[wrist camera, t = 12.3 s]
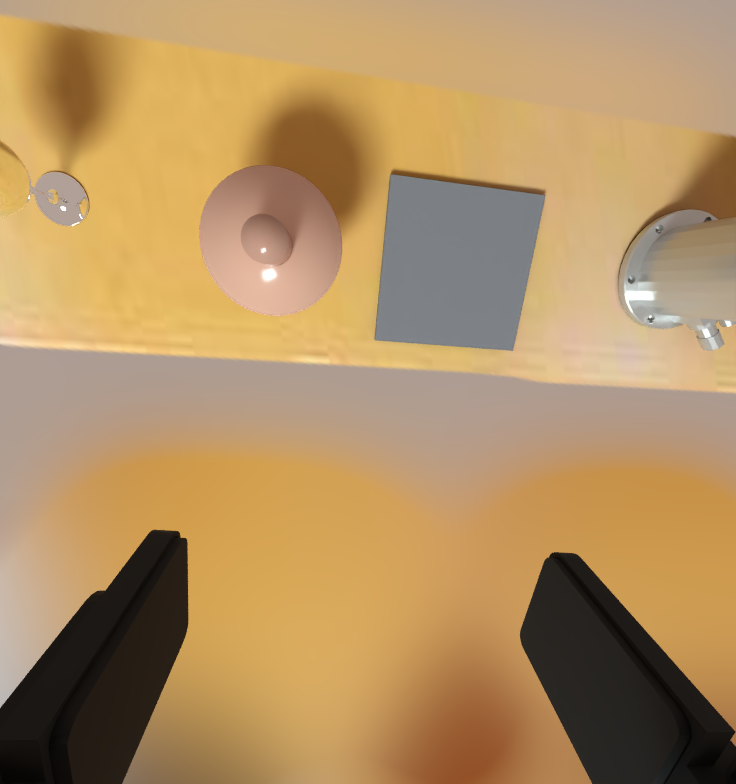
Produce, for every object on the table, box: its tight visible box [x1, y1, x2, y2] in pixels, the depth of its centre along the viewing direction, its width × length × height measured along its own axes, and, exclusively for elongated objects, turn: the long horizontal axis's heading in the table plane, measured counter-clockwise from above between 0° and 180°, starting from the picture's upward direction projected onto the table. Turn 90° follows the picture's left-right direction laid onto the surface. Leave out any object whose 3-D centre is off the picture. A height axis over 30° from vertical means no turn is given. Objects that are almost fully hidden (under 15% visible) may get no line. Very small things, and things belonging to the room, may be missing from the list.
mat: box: [375, 174, 545, 351], centre depth 37 cm, size 16×16×1 cm
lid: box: [199, 165, 342, 316], centre depth 26 cm, size 11×11×4 cm
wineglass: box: [0, 139, 89, 226], centre depth 26 cm, size 6×6×12 cm
